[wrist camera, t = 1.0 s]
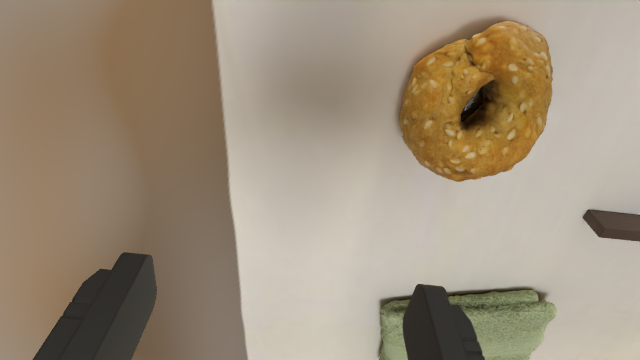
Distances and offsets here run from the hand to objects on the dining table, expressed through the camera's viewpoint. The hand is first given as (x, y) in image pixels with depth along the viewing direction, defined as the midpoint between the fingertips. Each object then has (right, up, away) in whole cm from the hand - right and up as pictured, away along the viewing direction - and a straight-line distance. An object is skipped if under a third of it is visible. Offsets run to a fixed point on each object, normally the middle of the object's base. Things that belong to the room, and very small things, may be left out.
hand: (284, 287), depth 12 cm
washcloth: (+16, -13, +32) cm, 38 cm away
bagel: (+12, +10, +16) cm, 22 cm away
